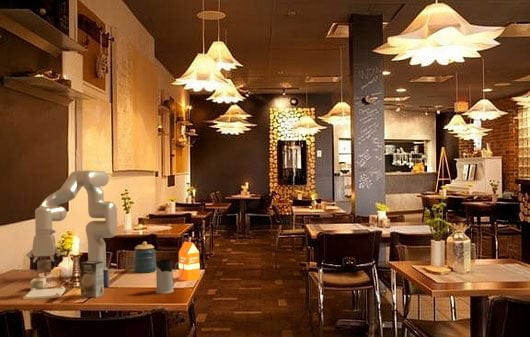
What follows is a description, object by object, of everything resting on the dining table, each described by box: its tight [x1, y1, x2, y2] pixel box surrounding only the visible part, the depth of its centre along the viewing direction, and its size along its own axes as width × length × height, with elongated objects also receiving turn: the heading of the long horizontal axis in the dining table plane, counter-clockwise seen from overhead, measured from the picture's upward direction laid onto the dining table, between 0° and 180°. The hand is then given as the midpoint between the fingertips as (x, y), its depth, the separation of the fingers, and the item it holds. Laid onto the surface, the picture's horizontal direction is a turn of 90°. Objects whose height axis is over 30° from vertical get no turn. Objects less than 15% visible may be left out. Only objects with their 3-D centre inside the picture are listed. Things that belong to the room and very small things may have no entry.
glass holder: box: [155, 258, 184, 295], centre depth 260 cm, size 9×14×15 cm, turn 113°
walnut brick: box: [36, 259, 52, 274], centre depth 258 cm, size 6×8×5 cm
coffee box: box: [79, 260, 105, 298], centre depth 253 cm, size 9×6×16 cm
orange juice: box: [178, 241, 201, 282], centre depth 288 cm, size 8×9×20 cm
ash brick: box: [29, 277, 47, 291], centre depth 271 cm, size 6×8×5 cm
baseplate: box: [22, 286, 66, 300], centre depth 258 cm, size 16×16×2 cm
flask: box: [103, 268, 111, 288], centre depth 274 cm, size 9×3×11 cm, turn 68°
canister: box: [133, 241, 157, 274], centre depth 314 cm, size 13×13×18 cm
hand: (44, 269), depth 258 cm, fingers closed on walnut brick, 6 cm apart
